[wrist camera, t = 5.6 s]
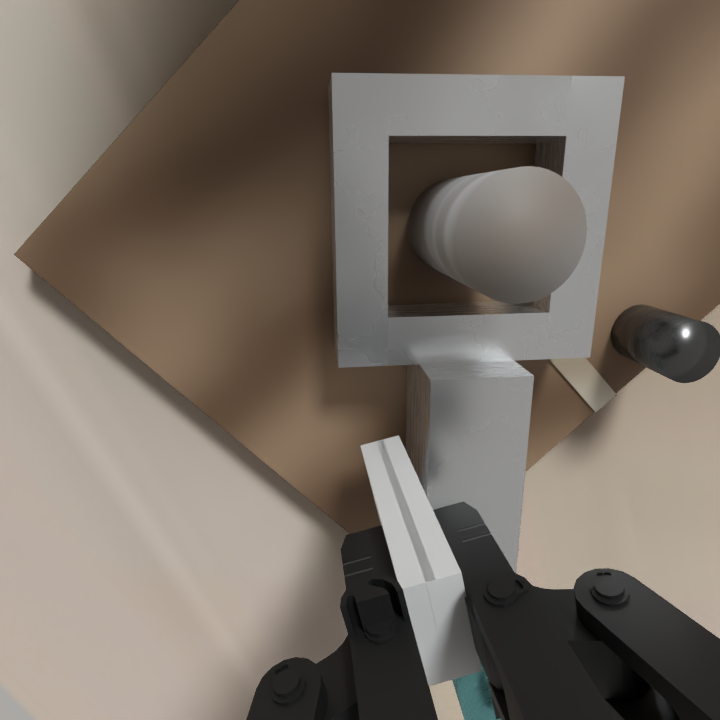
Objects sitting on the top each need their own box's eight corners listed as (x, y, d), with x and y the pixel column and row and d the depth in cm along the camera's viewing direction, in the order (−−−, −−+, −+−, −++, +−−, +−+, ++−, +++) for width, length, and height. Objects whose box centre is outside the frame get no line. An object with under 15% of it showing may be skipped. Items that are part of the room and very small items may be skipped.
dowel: (583, 324, 20) (648, 353, 16) (624, 287, 20) (700, 308, 16) (612, 359, 20) (682, 395, 17) (652, 324, 20) (733, 352, 16)
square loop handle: (328, 88, 15) (348, -11, 8) (586, 91, 16) (812, 2, 9) (340, 576, 20) (360, 778, 13) (537, 560, 21) (656, 744, 14)
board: (33, 251, 17) (-139, 281, 11) (540, -318, 14) (747, -773, 8) (397, 558, 22) (437, 711, 16) (828, 182, 19) (1105, 171, 13)
